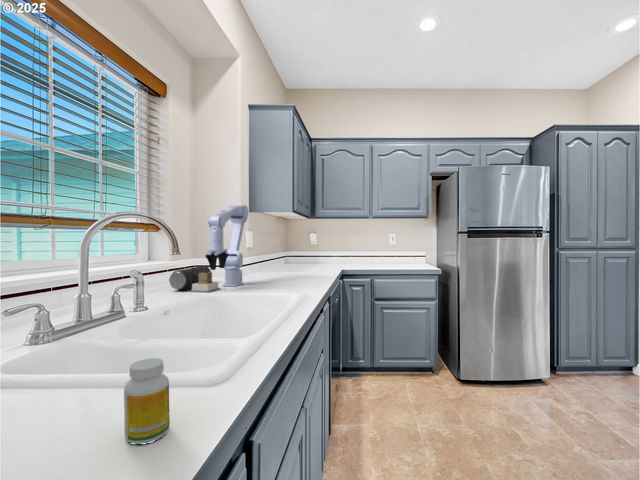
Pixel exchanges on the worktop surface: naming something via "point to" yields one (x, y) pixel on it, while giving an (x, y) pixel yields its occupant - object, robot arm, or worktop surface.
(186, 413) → the worktop surface
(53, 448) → the worktop surface
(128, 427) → the supplement bottle
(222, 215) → the robot arm
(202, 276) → the walnut plug
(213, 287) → the socket block
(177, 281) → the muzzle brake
